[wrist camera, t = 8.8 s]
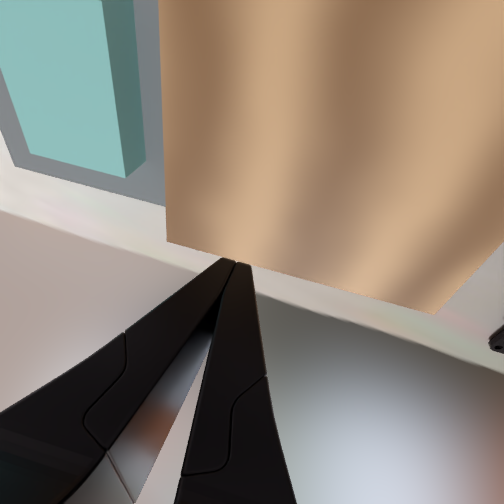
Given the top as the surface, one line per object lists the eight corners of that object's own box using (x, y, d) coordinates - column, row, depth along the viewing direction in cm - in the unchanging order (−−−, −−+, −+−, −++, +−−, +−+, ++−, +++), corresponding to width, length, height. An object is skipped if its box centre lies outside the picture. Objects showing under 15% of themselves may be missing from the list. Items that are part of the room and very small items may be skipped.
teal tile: (-34, -30, 13) (15, -26, 14) (30, 153, 18) (59, 138, 20) (101, 0, 12) (133, 0, 14) (125, 178, 17) (146, 160, 19)
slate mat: (188, -115, 11) (188, -116, 11) (184, 211, 21) (183, 211, 21) (-118, -178, 12) (-121, -179, 12) (15, 165, 22) (14, 166, 22)
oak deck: (626, -5, 11) (737, -6, 8) (419, 267, 20) (434, 315, 17) (201, -93, 12) (153, -124, 9) (191, 206, 21) (166, 241, 18)
